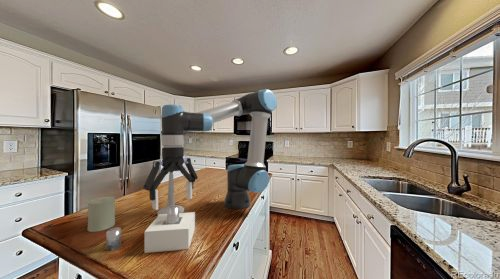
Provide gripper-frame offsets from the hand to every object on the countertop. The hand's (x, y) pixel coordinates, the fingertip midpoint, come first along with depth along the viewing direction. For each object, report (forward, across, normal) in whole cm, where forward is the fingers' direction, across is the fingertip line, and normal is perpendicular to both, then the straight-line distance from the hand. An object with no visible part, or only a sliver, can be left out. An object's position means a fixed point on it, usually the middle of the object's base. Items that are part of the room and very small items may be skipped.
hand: (173, 203), depth 67 cm
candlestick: (+14, -13, -25) cm, 31 cm away
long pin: (+14, 0, 0) cm, 14 cm away
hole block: (+14, 0, 0) cm, 14 cm away
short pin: (+13, +15, -12) cm, 24 cm away
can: (+13, +13, -34) cm, 39 cm away
